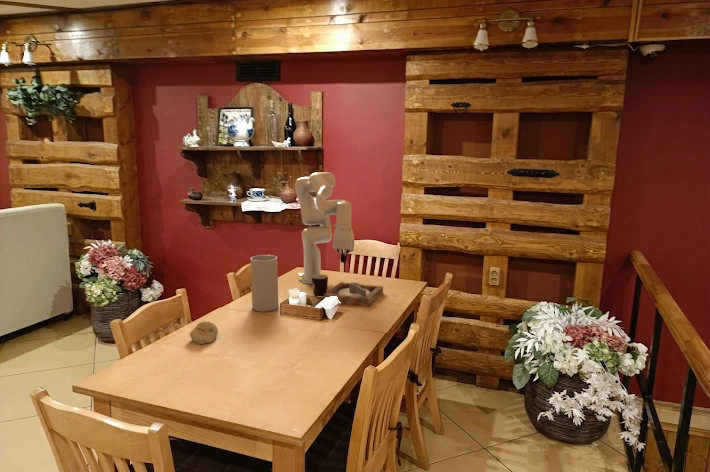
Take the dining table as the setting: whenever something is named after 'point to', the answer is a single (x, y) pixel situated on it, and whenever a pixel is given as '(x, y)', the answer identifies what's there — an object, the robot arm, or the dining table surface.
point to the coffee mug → (319, 284)
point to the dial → (354, 290)
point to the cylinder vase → (264, 283)
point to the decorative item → (204, 332)
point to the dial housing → (354, 300)
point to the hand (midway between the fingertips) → (343, 262)
